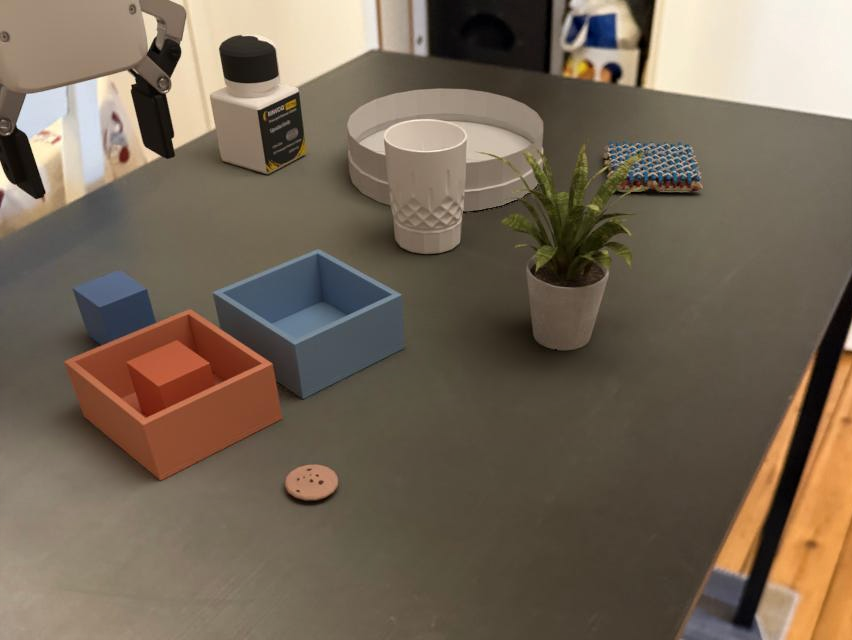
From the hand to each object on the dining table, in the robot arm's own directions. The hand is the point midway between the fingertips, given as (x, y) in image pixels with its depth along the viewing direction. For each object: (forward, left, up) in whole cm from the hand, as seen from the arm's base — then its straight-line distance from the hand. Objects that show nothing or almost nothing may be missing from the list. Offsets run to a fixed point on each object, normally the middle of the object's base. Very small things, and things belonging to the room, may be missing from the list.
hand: (97, 171), depth 63 cm
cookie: (+19, +1, -17) cm, 26 cm away
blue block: (-9, +2, -17) cm, 20 cm away
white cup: (-4, +34, -17) cm, 39 cm away
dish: (-15, +47, -17) cm, 52 cm away
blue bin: (+4, +13, -17) cm, 22 cm away
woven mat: (+2, +63, -17) cm, 65 cm away
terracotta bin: (+5, -1, -17) cm, 18 cm away
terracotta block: (+5, -1, -17) cm, 17 cm away
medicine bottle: (-32, +34, -17) cm, 50 cm away
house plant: (+17, +29, -17) cm, 38 cm away
